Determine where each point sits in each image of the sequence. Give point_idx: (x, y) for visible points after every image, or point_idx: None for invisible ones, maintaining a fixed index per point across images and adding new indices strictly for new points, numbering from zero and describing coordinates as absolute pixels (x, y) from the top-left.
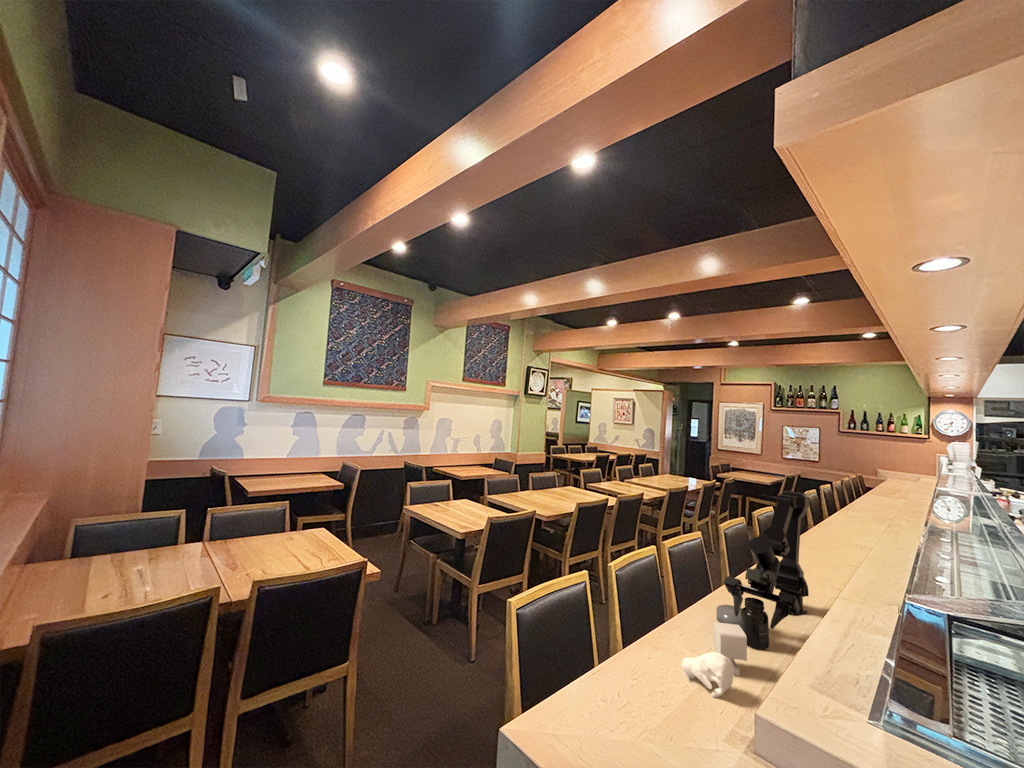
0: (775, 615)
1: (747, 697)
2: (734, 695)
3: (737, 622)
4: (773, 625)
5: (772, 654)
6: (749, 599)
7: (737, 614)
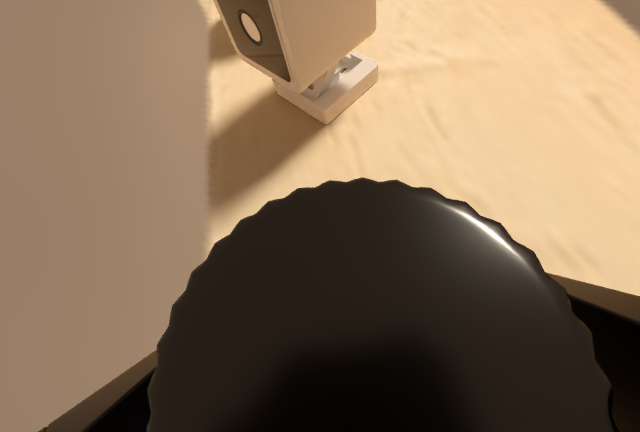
0: (70, 425)
1: (223, 47)
2: None
3: None
4: None
5: None
6: (464, 328)
7: None
